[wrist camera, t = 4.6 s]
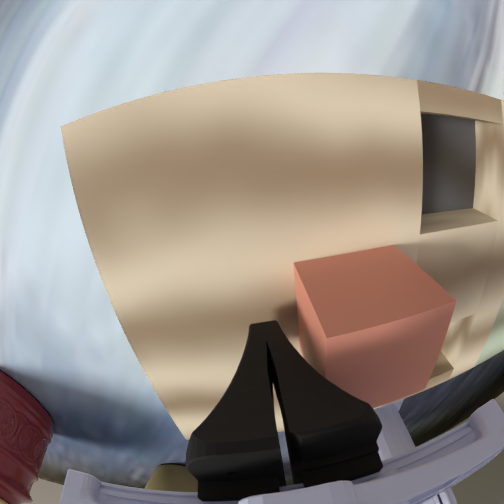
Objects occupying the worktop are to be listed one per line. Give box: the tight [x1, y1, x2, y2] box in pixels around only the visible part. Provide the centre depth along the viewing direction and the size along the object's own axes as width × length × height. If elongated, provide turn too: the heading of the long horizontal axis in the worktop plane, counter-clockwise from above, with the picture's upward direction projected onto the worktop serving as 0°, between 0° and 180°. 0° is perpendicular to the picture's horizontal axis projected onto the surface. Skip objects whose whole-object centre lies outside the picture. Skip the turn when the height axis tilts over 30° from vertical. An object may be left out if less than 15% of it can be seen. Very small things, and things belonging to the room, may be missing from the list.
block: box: [293, 245, 456, 408], centre depth 11 cm, size 5×5×5 cm
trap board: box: [61, 73, 504, 440], centre depth 15 cm, size 22×37×4 cm, turn 98°
